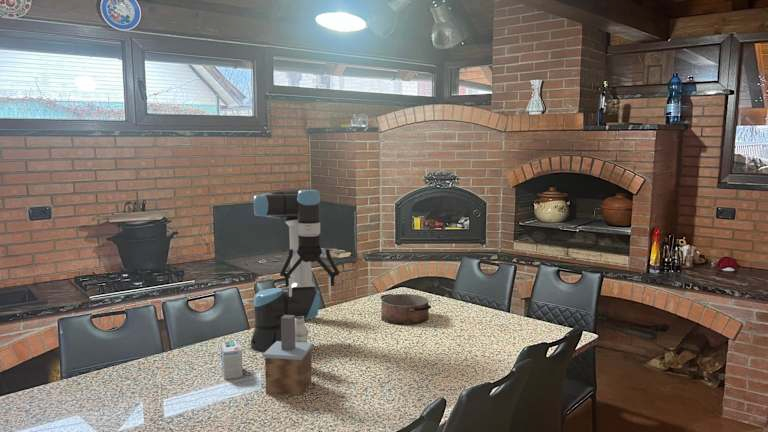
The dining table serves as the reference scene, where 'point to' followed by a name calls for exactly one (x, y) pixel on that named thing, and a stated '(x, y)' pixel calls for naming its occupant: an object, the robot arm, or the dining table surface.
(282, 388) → the crate
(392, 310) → the cooking pot
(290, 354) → the lid
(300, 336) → the plastic bottle
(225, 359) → the light bulb box
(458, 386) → the dining table surface
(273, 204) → the robot arm
